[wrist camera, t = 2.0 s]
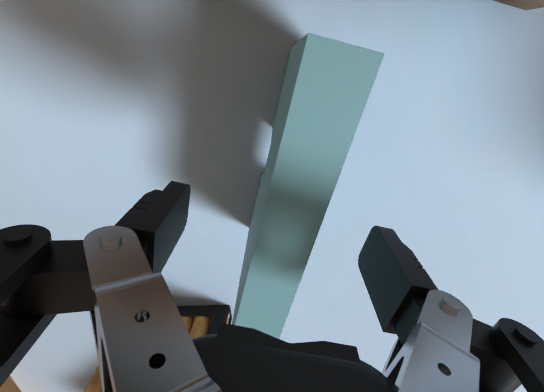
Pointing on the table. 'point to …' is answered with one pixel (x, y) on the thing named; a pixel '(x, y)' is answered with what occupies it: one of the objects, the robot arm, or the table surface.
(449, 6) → the table surface
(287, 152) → the teal slotted plate
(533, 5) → the walnut slotted plate
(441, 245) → the table surface
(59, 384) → the table surface
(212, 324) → the ammunition clip
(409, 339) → the robot arm
